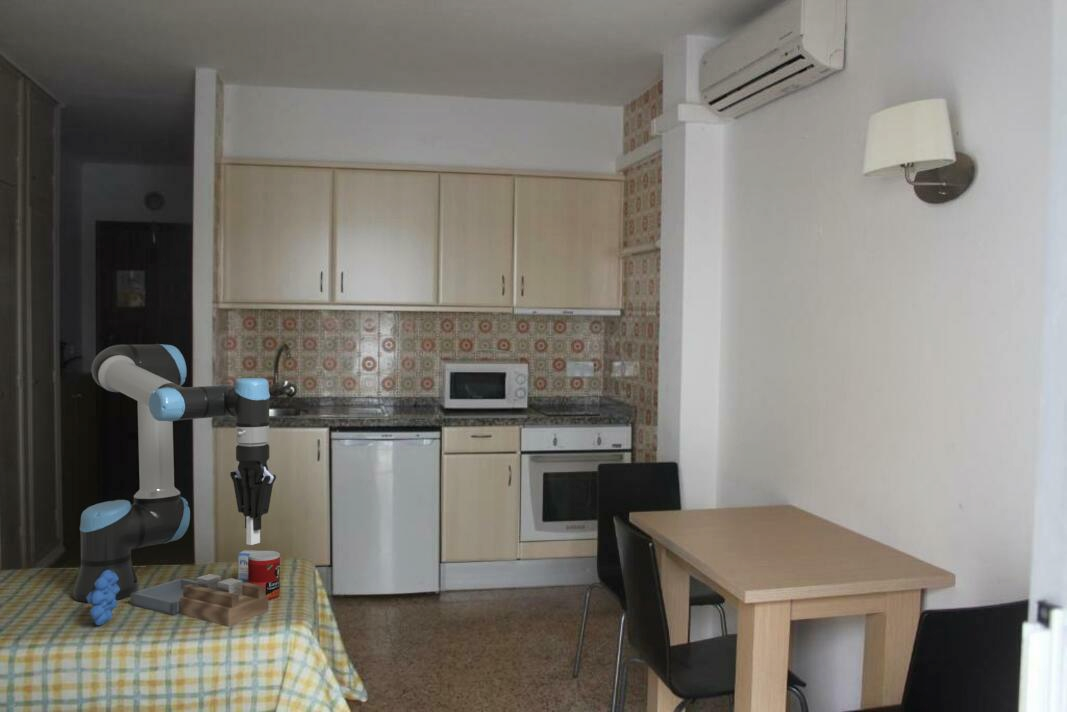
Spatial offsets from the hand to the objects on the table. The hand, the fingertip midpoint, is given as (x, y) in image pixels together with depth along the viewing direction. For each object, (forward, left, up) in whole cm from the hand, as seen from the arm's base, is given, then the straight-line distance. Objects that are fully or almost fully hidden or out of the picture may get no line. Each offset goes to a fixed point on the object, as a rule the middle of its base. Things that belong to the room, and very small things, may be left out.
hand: (253, 543), depth 200 cm
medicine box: (-23, +21, -19) cm, 36 cm away
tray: (-27, 0, -18) cm, 33 cm away
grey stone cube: (-16, 0, -14) cm, 21 cm away
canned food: (-12, +14, -19) cm, 26 cm away
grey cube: (-8, 0, -14) cm, 16 cm away
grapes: (-30, -19, -19) cm, 40 cm away
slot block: (-10, 0, -18) cm, 21 cm away
